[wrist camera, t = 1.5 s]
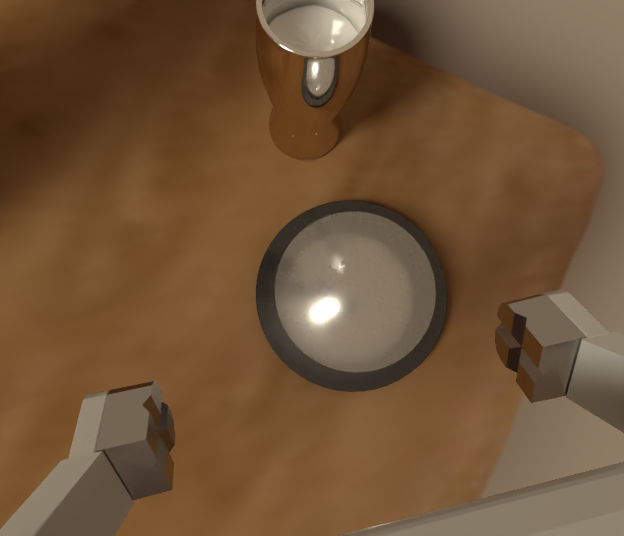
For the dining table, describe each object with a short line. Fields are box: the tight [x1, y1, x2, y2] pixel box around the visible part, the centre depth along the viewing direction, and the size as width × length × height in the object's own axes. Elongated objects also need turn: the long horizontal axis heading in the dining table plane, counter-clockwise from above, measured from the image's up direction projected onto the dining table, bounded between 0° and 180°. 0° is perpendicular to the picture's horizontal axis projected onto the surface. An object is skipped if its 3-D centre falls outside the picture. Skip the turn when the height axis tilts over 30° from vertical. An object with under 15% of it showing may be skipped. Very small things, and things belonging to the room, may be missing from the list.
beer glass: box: [256, 0, 374, 160], centre depth 35 cm, size 7×7×15 cm
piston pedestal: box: [256, 201, 447, 392], centre depth 38 cm, size 15×15×3 cm
